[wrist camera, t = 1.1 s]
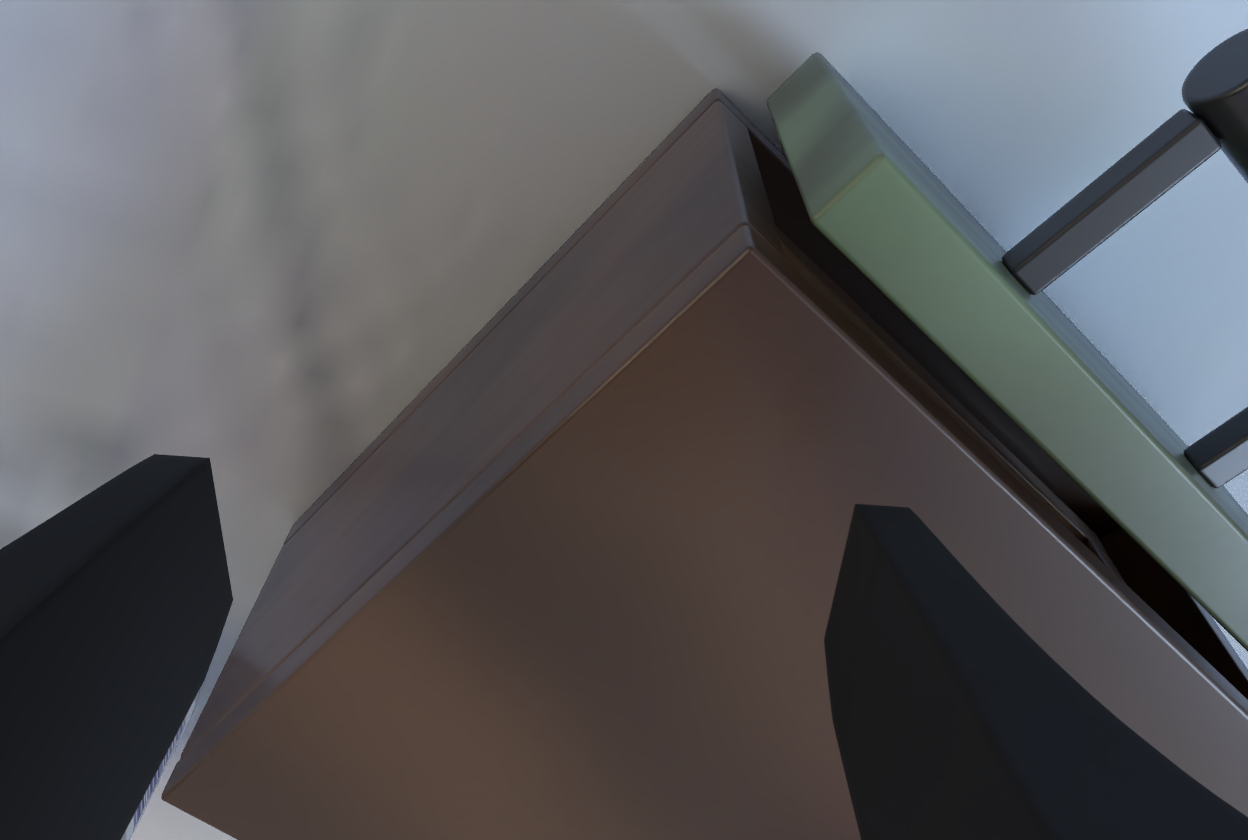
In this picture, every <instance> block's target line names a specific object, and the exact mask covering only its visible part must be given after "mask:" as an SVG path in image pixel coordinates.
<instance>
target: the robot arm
mask: <svg viewBox="0 0 1248 840" xmlns="http://www.w3.org/2000/svg"><path fill="white" fill-rule="evenodd" d="M232 601H233V597H232V591H231V585H230V579H229V573H228V567H227V561H226V555H225V549H224V543H223V536H222V530H221V524H220V518H219V512H218V506H217V500H216V494H215V488H214V482H213V476H212V470H211V464H210V458H200V457H185V456H171V455H157V454H154V455H153V456H151V457H149V458H147V459H145V460H143V461H142V462H140V463H138V464H136V465H135V466H133V467H131V468H129V469H128V470H126V471H125V472H123V473H121V474H120V475H118V476H116V477H115V478H113V479H112V480H110V481H108V482H107V483H105V484H104V485H102V486H100V487H99V488H97V489H96V490H94V491H93V492H91V493H89V494H88V495H86V496H85V497H83V498H82V499H80V500H78V501H77V502H75V503H74V504H72V505H71V506H69V507H68V508H66V509H64V510H63V511H61V512H60V513H58V514H56V515H55V516H53V517H52V518H50V519H48V520H47V521H45V522H44V523H42V524H40V525H39V526H37V527H36V528H34V529H32V530H31V531H29V532H28V533H26V534H25V535H23V536H21V537H20V538H18V539H17V540H15V541H13V542H12V543H10V544H9V545H7V546H5V547H4V548H2V549H1V550H0V840H121V839H122V837H123V835H124V833H125V831H126V829H127V827H128V825H129V823H130V822H131V820H132V818H133V816H134V814H135V812H136V810H137V808H138V806H139V804H140V803H141V801H142V799H143V797H144V795H145V793H146V791H147V789H148V787H149V785H150V784H151V782H152V780H153V778H154V776H155V774H156V772H157V770H158V768H159V767H160V765H161V763H162V761H163V759H164V757H165V755H166V753H167V751H168V749H169V748H170V746H171V744H172V742H173V740H174V738H175V736H176V734H177V732H178V730H179V728H180V726H181V724H182V723H183V721H184V719H185V717H186V715H187V713H188V711H189V709H190V707H191V705H192V703H193V701H194V699H195V697H196V695H197V693H198V691H199V689H200V687H201V685H202V683H203V681H204V679H205V677H206V674H207V671H208V669H209V666H210V664H211V661H212V658H213V656H214V653H215V650H216V648H217V645H218V642H219V639H220V636H221V633H222V630H223V627H224V625H225V622H226V619H227V616H228V613H229V610H230V607H231V604H232ZM824 647H825V657H826V667H827V677H828V687H829V695H830V704H831V712H832V720H833V725H834V729H835V734H836V738H837V742H838V747H839V751H840V755H841V759H842V763H843V768H844V772H845V776H846V780H847V784H848V788H849V793H850V797H851V801H852V805H853V809H854V813H855V817H856V821H857V825H858V829H859V833H860V837H861V840H1248V817H1247V816H1245V815H1244V814H1242V813H1241V812H1240V811H1238V810H1237V809H1235V808H1234V807H1232V806H1231V805H1230V804H1228V803H1227V802H1225V801H1224V800H1222V799H1221V798H1220V797H1218V796H1217V795H1215V794H1214V793H1213V792H1211V791H1210V790H1209V789H1207V788H1206V787H1204V786H1203V785H1202V784H1200V783H1199V782H1198V781H1196V780H1195V779H1194V778H1192V777H1191V776H1190V775H1188V774H1187V773H1186V772H1184V771H1183V770H1182V769H1180V768H1179V767H1178V766H1177V765H1175V764H1174V763H1173V762H1172V761H1170V760H1169V759H1168V758H1167V757H1165V756H1164V755H1163V754H1162V753H1160V752H1159V751H1158V750H1157V749H1155V748H1154V747H1153V746H1152V745H1150V744H1149V743H1148V742H1147V741H1145V740H1144V739H1143V738H1142V737H1140V736H1139V735H1138V734H1137V733H1135V732H1134V731H1133V730H1132V729H1130V728H1129V727H1128V726H1127V725H1125V724H1124V723H1123V722H1122V721H1121V720H1120V719H1118V718H1117V717H1116V716H1115V715H1114V714H1113V713H1111V712H1110V711H1109V710H1108V709H1107V708H1106V707H1104V706H1103V705H1102V704H1101V703H1100V702H1099V701H1098V700H1096V699H1095V698H1094V697H1093V696H1092V695H1091V694H1090V693H1089V692H1088V691H1087V690H1086V689H1084V688H1083V687H1082V686H1081V685H1080V684H1079V683H1078V682H1077V681H1076V680H1075V679H1074V678H1073V677H1071V676H1070V675H1069V674H1068V673H1067V672H1066V671H1065V670H1064V669H1063V668H1062V667H1061V666H1060V665H1059V664H1057V663H1056V662H1055V661H1054V660H1053V659H1052V658H1051V657H1050V656H1049V655H1048V654H1047V653H1046V652H1045V651H1044V650H1043V649H1042V648H1041V647H1040V646H1039V645H1038V644H1037V643H1036V642H1035V641H1034V640H1033V639H1032V638H1031V637H1030V636H1029V635H1028V634H1027V633H1026V632H1025V631H1024V630H1023V629H1022V628H1021V627H1020V626H1019V625H1018V624H1017V623H1016V622H1015V621H1014V620H1013V619H1012V618H1011V617H1010V616H1009V615H1008V614H1007V613H1006V612H1005V611H1004V610H1003V609H1002V608H1001V607H1000V606H999V605H998V603H997V602H996V601H995V600H994V599H993V598H992V597H991V596H990V595H989V594H988V593H987V592H986V591H985V590H984V589H983V587H982V586H981V585H980V584H979V583H978V582H977V581H976V580H975V579H974V578H973V577H972V576H971V574H970V573H969V572H968V571H967V570H966V569H965V568H964V567H963V566H962V565H961V563H960V562H959V561H958V560H957V559H956V558H955V557H954V556H953V555H952V554H951V552H950V551H949V550H948V549H947V548H946V547H945V546H944V545H943V544H942V542H941V541H940V540H939V539H938V538H937V537H936V536H935V535H934V534H933V532H932V531H931V530H930V529H929V528H928V527H927V526H926V525H925V524H924V523H923V521H922V520H921V519H920V518H919V517H918V516H917V515H916V514H915V513H914V512H913V511H912V510H911V509H910V508H909V507H895V506H880V505H866V504H855V507H854V511H853V515H852V520H851V524H850V528H849V533H848V537H847V541H846V546H845V550H844V554H843V559H842V563H841V567H840V572H839V576H838V580H837V585H836V589H835V594H834V598H833V602H832V607H831V611H830V615H829V620H828V624H827V628H826V633H825V637H824Z"/></svg>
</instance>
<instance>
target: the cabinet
mask: <svg viewBox="0 0 1248 840" xmlns="http://www.w3.org/2000/svg"><path fill="white" fill-rule="evenodd" d="M776 226H777V227H778V228H779V229H780V230H781V231H782V232H783V233H784V234H785V235H786V236H787V237H788V238H789V239H790V240H791V241H792V242H793V243H794V244H795V245H797V246H798V247H799V248H800V249H801V250H802V251H803V252H804V253H805V254H806V255H807V256H808V257H809V258H810V259H811V260H812V261H813V262H814V263H815V264H816V265H817V266H818V267H819V268H820V269H821V270H822V271H824V272H825V273H826V274H827V275H828V276H829V277H830V278H831V279H832V280H833V281H834V282H835V283H836V284H837V285H838V286H839V287H840V288H841V289H842V290H843V291H844V292H845V293H846V294H847V295H848V296H849V297H851V298H852V299H853V300H854V301H855V302H856V303H857V304H858V305H859V306H860V307H861V308H862V309H863V310H864V311H865V312H866V313H867V314H868V315H869V316H870V317H871V318H872V319H873V320H874V321H875V322H876V323H877V324H879V325H880V326H881V327H882V328H883V329H884V330H885V331H886V332H887V333H888V334H889V335H890V336H891V337H892V338H893V339H894V340H895V341H896V342H897V343H898V344H899V345H900V346H901V347H902V348H903V349H904V350H906V351H907V352H908V353H909V354H910V355H911V356H912V357H913V358H914V359H915V360H916V361H917V362H918V363H919V364H920V365H921V366H922V367H923V368H924V369H925V370H926V371H927V372H928V373H929V374H930V375H931V376H933V377H934V378H935V379H936V380H937V381H938V382H939V383H940V384H941V385H942V386H943V387H944V388H945V389H946V390H947V391H948V392H949V393H950V394H951V395H952V396H953V397H954V398H955V399H956V400H957V401H958V402H960V403H961V404H962V405H963V406H964V407H965V408H966V409H967V410H968V411H969V412H970V413H971V414H972V415H973V416H974V417H975V418H976V419H977V420H978V421H979V422H980V423H981V424H982V425H983V426H984V427H985V428H987V429H988V430H989V431H990V432H991V433H992V434H993V435H994V436H995V437H996V438H997V439H998V440H999V441H1000V442H1001V443H1002V444H1003V445H1004V446H1005V447H1006V448H1007V449H1008V450H1009V451H1010V452H1011V453H1012V454H1013V455H1015V456H1016V457H1017V458H1018V459H1019V460H1020V461H1021V462H1022V463H1023V464H1024V465H1025V466H1026V467H1027V468H1028V469H1029V470H1030V471H1031V472H1032V473H1033V474H1034V475H1035V476H1036V477H1037V478H1038V479H1039V480H1040V481H1042V482H1043V483H1044V484H1045V485H1046V486H1047V487H1048V488H1049V489H1050V490H1051V491H1052V492H1053V493H1054V494H1055V495H1056V496H1057V497H1058V498H1059V499H1060V500H1061V501H1062V502H1063V503H1064V504H1065V505H1066V506H1067V507H1069V508H1070V509H1071V510H1072V511H1073V512H1074V513H1075V514H1076V515H1077V516H1078V517H1079V518H1080V519H1081V520H1082V521H1083V522H1084V523H1085V524H1086V525H1087V526H1088V527H1089V528H1090V529H1091V530H1092V531H1093V532H1094V533H1096V535H1097V536H1098V538H1099V540H1100V541H1101V543H1102V545H1103V546H1104V548H1105V550H1106V551H1107V553H1108V556H1109V557H1110V558H1111V560H1112V562H1113V563H1114V565H1115V567H1116V568H1117V570H1118V572H1119V573H1120V575H1121V577H1122V578H1123V580H1124V582H1125V583H1126V584H1125V583H1124V582H1123V581H1122V580H1121V579H1120V578H1119V577H1118V576H1117V575H1116V574H1115V573H1114V572H1113V571H1112V570H1111V569H1110V568H1109V567H1107V566H1106V565H1105V564H1104V563H1103V562H1102V561H1101V560H1100V559H1099V558H1098V557H1097V556H1096V555H1095V554H1094V553H1093V552H1092V551H1091V550H1090V549H1089V548H1087V547H1086V546H1085V545H1084V544H1083V543H1082V542H1081V541H1080V540H1079V539H1078V538H1077V537H1076V536H1075V535H1074V534H1073V533H1072V532H1071V531H1070V530H1069V529H1067V528H1066V527H1065V526H1064V525H1063V524H1062V523H1061V522H1060V521H1059V520H1058V519H1057V518H1056V517H1055V516H1054V515H1053V514H1052V513H1051V512H1050V511H1049V510H1048V509H1046V508H1045V507H1044V506H1043V505H1042V504H1041V503H1040V502H1039V501H1038V500H1037V499H1036V498H1035V497H1034V496H1033V495H1032V494H1031V493H1030V492H1029V491H1028V490H1026V489H1025V488H1024V487H1023V486H1022V485H1021V484H1020V483H1019V482H1018V481H1017V480H1016V479H1015V478H1014V477H1013V476H1012V475H1011V474H1010V473H1009V472H1008V471H1007V470H1005V469H1004V468H1003V467H1002V466H1001V465H1000V464H999V463H998V462H997V461H996V460H995V459H994V458H993V457H992V456H991V455H990V454H989V453H988V452H987V451H985V450H984V449H983V448H982V447H981V446H980V445H979V444H978V443H977V442H976V441H975V440H974V439H973V438H972V437H971V436H970V435H969V434H968V433H967V432H965V431H964V430H963V429H962V428H961V427H960V426H959V425H958V424H957V423H956V422H955V421H954V420H953V419H952V418H951V417H950V416H949V415H948V414H947V413H946V412H944V411H943V410H942V409H941V408H940V407H939V406H938V405H937V404H936V403H935V402H934V401H933V400H932V399H931V398H930V397H929V396H928V395H927V394H926V393H924V392H923V391H922V390H921V389H920V388H919V387H918V386H917V385H916V384H915V383H914V382H913V381H912V380H911V379H910V378H909V377H908V376H907V375H906V374H904V373H903V372H902V371H901V370H900V369H899V368H898V367H897V366H896V365H895V364H894V363H893V362H892V361H891V360H890V359H889V358H888V357H887V356H886V355H885V354H883V353H882V352H881V351H880V350H879V349H878V348H877V347H876V346H875V345H874V344H873V343H872V342H871V341H870V340H869V339H868V338H867V337H866V336H865V335H863V334H862V333H861V332H860V331H859V330H858V329H857V328H856V327H855V326H854V325H853V324H852V323H851V322H850V321H849V320H848V319H847V318H846V317H845V316H843V315H842V314H841V313H840V312H839V311H838V310H837V309H836V308H835V307H834V306H833V305H832V304H831V303H830V302H829V301H828V300H827V299H826V298H825V297H824V296H822V295H821V294H820V293H819V292H818V291H817V290H816V289H815V288H814V287H813V286H812V285H811V284H810V283H809V282H808V281H807V280H806V279H805V278H804V277H802V276H801V275H800V274H799V273H798V272H797V271H796V270H795V269H794V268H793V267H792V266H791V265H790V264H789V263H788V262H787V261H786V259H785V256H784V253H783V249H782V246H781V242H780V239H779V235H778V232H777V228H776ZM855 504H866V505H880V506H895V507H909V508H910V509H911V510H912V511H913V512H914V513H915V514H916V515H917V516H918V517H919V518H920V519H921V520H922V521H923V523H924V524H925V525H926V526H927V527H928V528H929V529H930V530H931V531H932V532H933V534H934V535H935V536H936V537H937V538H938V539H939V540H940V541H941V542H942V544H943V545H944V546H945V547H946V548H947V549H948V550H949V551H950V552H951V554H952V555H953V556H954V557H955V558H956V559H957V560H958V561H959V562H960V563H961V565H962V566H963V567H964V568H965V569H966V570H967V571H968V572H969V573H970V574H971V576H972V577H973V578H974V579H975V580H976V581H977V582H978V583H979V584H980V585H981V586H982V587H983V589H984V590H985V591H986V592H987V593H988V594H989V595H990V596H991V597H992V598H993V599H994V600H995V601H996V602H997V603H998V605H999V606H1000V607H1001V608H1002V609H1003V610H1004V611H1005V612H1006V613H1007V614H1008V615H1009V616H1010V617H1011V618H1012V619H1013V620H1014V621H1015V622H1016V623H1017V624H1018V625H1019V626H1020V627H1021V628H1022V629H1023V630H1024V631H1025V632H1026V633H1027V634H1028V635H1029V636H1030V637H1031V638H1032V639H1033V640H1034V641H1035V642H1036V643H1037V644H1038V645H1039V646H1040V647H1041V648H1042V649H1043V650H1044V651H1045V652H1046V653H1047V654H1048V655H1049V656H1050V657H1051V658H1052V659H1053V660H1054V661H1055V662H1056V663H1057V664H1059V665H1060V666H1061V667H1062V668H1063V669H1064V670H1065V671H1066V672H1067V673H1068V674H1069V675H1070V676H1071V677H1073V678H1074V679H1075V680H1076V681H1077V682H1078V683H1079V684H1080V685H1081V686H1082V687H1083V688H1084V689H1086V690H1087V691H1088V692H1089V693H1090V694H1091V695H1092V696H1093V697H1094V698H1095V699H1096V700H1098V701H1099V702H1100V703H1101V704H1102V705H1103V706H1104V707H1106V708H1107V709H1108V710H1109V711H1110V712H1111V713H1113V714H1114V715H1115V716H1116V717H1117V718H1118V719H1120V720H1121V721H1122V722H1123V723H1124V724H1125V725H1127V726H1128V727H1129V728H1130V729H1132V730H1133V731H1134V732H1135V733H1137V734H1138V735H1139V736H1140V737H1142V738H1143V739H1144V740H1145V741H1147V742H1148V743H1149V744H1150V745H1152V746H1153V747H1154V748H1155V749H1157V750H1158V751H1159V752H1160V753H1162V754H1163V755H1164V756H1165V757H1167V758H1168V759H1169V760H1170V761H1172V762H1173V763H1174V764H1175V765H1177V766H1178V767H1179V768H1180V769H1182V770H1183V771H1184V772H1186V773H1187V774H1188V775H1190V776H1191V777H1192V778H1194V779H1195V780H1196V781H1198V782H1199V783H1200V784H1202V785H1203V786H1204V787H1206V788H1207V789H1209V790H1210V791H1211V792H1213V793H1214V794H1215V795H1217V796H1218V797H1220V798H1221V799H1222V800H1224V801H1225V802H1227V803H1228V804H1230V805H1231V806H1232V807H1234V808H1235V809H1237V810H1238V811H1240V812H1241V813H1242V814H1244V815H1245V816H1247V817H1248V669H1247V668H1246V666H1245V665H1244V663H1243V662H1242V660H1241V659H1240V657H1239V656H1238V654H1237V653H1236V652H1235V650H1234V649H1233V647H1232V646H1231V644H1230V643H1229V641H1228V640H1227V638H1226V637H1225V635H1224V634H1223V633H1222V631H1221V630H1220V628H1219V627H1218V625H1217V624H1216V622H1215V621H1214V619H1213V618H1212V616H1211V615H1210V614H1209V613H1208V612H1207V611H1206V610H1205V609H1204V608H1203V607H1202V606H1201V605H1200V604H1199V603H1198V602H1197V601H1196V600H1195V599H1194V598H1193V597H1192V596H1191V595H1190V594H1189V593H1188V592H1187V591H1186V590H1185V589H1184V588H1183V587H1182V586H1181V585H1180V584H1179V583H1178V582H1176V581H1175V580H1174V579H1173V578H1172V577H1171V576H1170V575H1169V574H1168V573H1167V572H1166V571H1165V570H1164V569H1163V568H1162V567H1161V566H1160V565H1159V564H1158V563H1157V562H1156V561H1155V560H1154V559H1153V558H1152V557H1151V556H1150V555H1149V554H1148V553H1147V552H1146V551H1145V550H1144V549H1143V548H1142V547H1141V546H1140V545H1139V544H1138V543H1137V542H1136V541H1135V540H1134V539H1133V538H1132V537H1131V536H1130V535H1129V534H1128V533H1127V532H1126V531H1125V530H1123V529H1122V528H1121V527H1120V526H1119V525H1118V524H1117V523H1116V522H1115V521H1114V520H1113V519H1112V518H1111V517H1110V516H1109V515H1108V514H1107V513H1106V512H1105V511H1104V510H1103V509H1102V508H1101V507H1100V506H1099V505H1098V504H1097V503H1096V502H1095V501H1094V500H1093V499H1092V498H1091V497H1090V496H1089V495H1088V494H1087V493H1086V492H1085V491H1084V490H1083V489H1082V488H1081V487H1080V486H1079V485H1078V484H1077V483H1076V482H1075V481H1074V480H1073V479H1072V478H1071V477H1069V476H1068V475H1067V474H1066V473H1065V472H1064V471H1063V470H1062V469H1061V468H1060V467H1059V466H1058V465H1057V464H1056V463H1055V462H1054V461H1053V460H1052V459H1051V458H1050V457H1049V456H1048V455H1047V454H1046V453H1045V452H1044V451H1043V450H1042V449H1041V448H1040V447H1039V446H1038V445H1037V444H1036V443H1035V442H1034V441H1033V440H1032V439H1031V438H1030V437H1029V436H1028V435H1027V434H1026V433H1025V432H1024V431H1023V430H1022V429H1021V428H1020V427H1019V426H1018V425H1016V424H1015V423H1014V422H1013V421H1012V420H1011V419H1010V418H1009V417H1008V416H1007V415H1006V414H1005V413H1004V412H1003V411H1002V410H1001V409H1000V408H999V407H998V406H997V405H996V404H995V403H994V402H993V401H992V400H991V399H990V398H989V397H988V396H987V395H986V394H985V393H984V392H983V391H982V390H981V389H980V388H979V387H978V386H977V385H976V384H975V383H974V382H973V381H972V380H971V379H970V378H969V377H968V376H967V375H966V374H965V373H964V372H962V371H961V370H960V369H959V368H958V367H957V366H956V365H955V364H954V363H953V362H952V361H951V360H950V359H949V358H948V357H947V356H946V355H945V354H944V353H943V352H942V351H941V350H940V349H939V348H938V347H937V346H936V345H935V344H934V343H933V342H932V341H931V340H930V339H929V338H928V337H927V336H926V335H925V334H924V333H923V332H922V331H921V330H920V329H919V328H918V327H917V326H916V325H915V324H914V323H913V322H912V321H911V320H909V319H908V318H907V317H906V316H905V315H904V314H903V313H902V312H901V311H900V310H899V309H898V308H897V307H896V306H895V305H894V304H893V303H892V302H891V301H890V300H889V299H888V298H887V297H886V296H885V295H884V294H883V293H882V292H881V291H880V290H879V289H878V288H877V287H876V286H875V285H874V284H873V283H872V282H871V281H870V280H869V279H868V278H867V277H866V276H865V275H864V274H863V273H862V272H861V271H860V270H859V269H858V268H857V267H855V266H854V265H853V264H852V263H851V262H850V261H849V260H848V259H847V258H846V257H845V256H844V255H843V254H842V253H841V252H840V251H839V250H838V249H837V248H836V247H835V246H834V245H833V244H832V243H831V242H830V241H829V240H828V239H827V238H826V237H825V236H824V235H823V234H822V233H821V232H820V231H819V230H818V229H817V228H816V227H815V226H814V225H813V224H812V223H811V220H810V217H809V215H808V212H807V209H806V207H805V204H804V201H803V199H802V196H801V193H800V191H799V188H798V185H797V183H796V180H795V178H794V175H793V172H792V170H791V167H790V164H789V162H788V159H787V158H786V157H785V156H784V155H783V154H782V153H781V152H780V151H779V150H778V149H777V148H776V147H775V146H774V145H773V144H772V143H771V142H770V141H769V140H768V139H767V138H766V137H765V136H764V135H763V134H762V133H761V132H760V131H759V130H758V129H757V128H756V127H755V126H754V125H753V124H752V123H751V122H750V121H749V120H748V119H747V118H746V117H745V116H744V115H743V114H742V113H741V112H740V111H739V110H738V109H737V108H736V107H735V106H734V105H733V104H732V103H731V102H730V101H729V100H728V99H727V98H726V97H725V96H724V95H723V94H722V93H721V92H720V91H719V90H717V89H714V90H712V91H711V92H710V93H709V94H708V95H707V96H706V97H705V98H704V99H703V100H702V101H701V102H700V104H699V105H698V106H697V107H696V108H695V109H694V110H693V111H692V112H691V113H690V114H689V115H688V116H687V117H686V118H685V119H684V120H683V121H682V122H681V123H680V124H679V125H678V126H677V127H676V128H675V129H674V130H673V132H672V133H671V134H670V135H669V136H668V137H667V138H666V139H665V140H664V141H663V142H662V143H661V144H660V145H659V146H658V147H657V148H656V149H655V150H654V151H653V152H652V153H651V154H650V155H649V156H648V157H647V158H646V160H645V161H644V162H643V163H642V164H641V165H640V166H639V167H638V168H637V169H636V170H635V171H634V172H633V173H632V174H631V175H630V176H629V177H628V178H627V179H626V180H625V181H624V182H623V183H622V184H621V185H620V186H619V188H618V189H617V190H616V191H615V192H614V193H613V194H612V195H611V196H610V197H609V198H608V199H607V200H606V201H605V202H604V203H603V204H602V205H601V206H600V207H599V208H598V209H597V210H596V211H595V212H594V213H593V214H592V216H591V217H590V218H589V219H588V220H587V221H586V222H585V223H584V224H583V225H582V226H581V227H580V228H579V229H578V230H577V231H576V232H575V233H574V234H573V235H572V236H571V237H570V238H569V239H568V240H567V241H566V242H565V244H564V245H563V246H562V247H561V248H560V249H559V250H558V251H557V252H556V253H555V254H554V255H553V256H552V257H551V258H550V259H549V260H548V261H547V262H546V263H545V264H544V265H543V266H542V267H541V268H540V269H539V270H538V272H537V273H536V274H535V275H534V276H533V277H532V278H531V279H530V280H529V281H528V282H527V283H526V284H525V285H524V286H523V287H522V288H521V289H520V290H519V291H518V292H517V293H516V294H515V295H514V296H513V297H512V298H511V300H510V301H509V302H508V303H507V304H506V305H505V306H504V307H503V308H502V309H501V310H500V311H499V312H498V313H497V314H496V315H495V316H494V317H493V318H492V319H491V320H490V321H489V322H488V323H487V324H486V325H485V326H484V327H483V329H482V330H481V331H480V332H479V333H478V334H477V335H476V336H475V337H474V338H473V339H472V340H471V341H470V342H469V343H468V344H467V345H466V346H465V347H464V348H463V349H462V350H461V351H460V352H459V353H458V354H457V355H456V357H455V358H454V359H453V360H452V361H451V362H450V363H449V364H448V365H447V366H446V367H445V368H444V369H443V370H442V371H441V372H440V373H439V374H438V375H437V376H436V377H435V378H434V379H433V380H432V381H431V382H430V383H429V385H428V386H427V387H426V388H425V389H424V390H423V391H422V392H421V393H420V394H419V395H418V396H417V397H416V398H415V399H414V400H413V401H412V402H411V403H410V404H409V405H408V406H407V407H406V408H405V409H404V410H403V411H402V413H401V414H400V415H399V416H398V417H397V418H396V419H395V420H394V421H393V422H392V423H391V424H390V425H389V426H388V427H387V428H386V429H385V430H384V431H383V432H382V433H381V434H380V435H379V436H378V437H377V438H376V439H375V441H374V442H373V443H372V444H371V445H370V446H369V447H368V448H367V449H366V450H365V451H364V452H363V453H362V454H361V455H360V456H359V457H358V458H357V459H356V460H355V461H354V462H353V463H352V464H351V465H350V466H349V467H348V469H347V470H346V471H345V472H344V473H343V474H342V475H341V476H340V477H339V478H338V479H337V480H336V481H335V482H334V483H333V484H332V485H331V486H330V487H329V488H328V489H327V490H326V491H325V492H324V493H323V494H322V495H321V497H320V498H319V499H318V500H317V501H316V502H315V503H314V504H313V505H312V506H311V507H310V508H309V509H308V510H307V511H306V512H305V513H304V514H303V515H302V516H301V517H300V518H299V519H298V520H297V521H296V522H295V523H294V525H293V526H292V528H291V530H290V532H289V534H288V536H287V538H286V540H285V542H284V546H283V547H282V549H281V551H280V553H279V555H278V557H277V559H276V561H275V563H274V565H273V567H272V569H271V572H270V574H269V576H268V578H267V580H266V582H265V584H264V586H263V588H262V590H261V592H260V594H259V596H258V598H257V600H256V602H255V604H254V606H253V608H252V611H251V613H250V615H249V617H248V619H247V621H246V623H245V625H244V627H243V629H242V631H241V633H240V635H239V637H238V639H237V641H236V643H235V645H234V648H233V650H232V652H231V654H230V656H229V658H228V660H227V662H226V664H225V666H224V668H223V670H222V672H221V674H220V676H219V678H218V680H217V682H216V684H215V687H214V689H213V691H212V693H211V695H210V697H209V699H208V701H207V703H206V705H205V707H204V709H203V711H202V713H201V715H200V717H199V719H198V721H197V724H196V726H195V728H194V730H193V732H192V734H191V736H190V738H189V740H188V742H187V744H186V746H185V748H184V750H183V752H182V754H181V759H180V761H179V762H178V763H177V764H176V766H175V768H174V770H173V772H172V774H171V776H170V779H169V781H168V783H167V785H166V787H165V789H164V791H163V793H162V797H161V799H162V800H163V801H165V802H167V803H169V804H171V805H173V806H175V807H177V808H179V809H180V810H182V811H184V812H186V813H188V814H190V815H192V816H194V817H196V818H197V819H199V820H201V821H203V822H205V823H207V824H209V825H211V826H213V827H215V828H216V829H218V830H220V831H222V832H224V833H226V834H228V835H230V836H232V837H233V838H235V839H237V840H861V837H860V833H859V829H858V825H857V821H856V817H855V813H854V809H853V805H852V801H851V797H850V793H849V788H848V784H847V780H846V776H845V772H844V768H843V763H842V759H841V755H840V751H839V747H838V742H837V738H836V734H835V729H834V725H833V720H832V712H831V704H830V695H829V687H828V677H827V667H826V657H825V647H824V637H825V633H826V628H827V624H828V620H829V615H830V611H831V607H832V602H833V598H834V594H835V589H836V585H837V580H838V576H839V572H840V567H841V563H842V559H843V554H844V550H845V546H846V541H847V537H848V533H849V528H850V524H851V520H852V515H853V511H854V507H855Z"/></svg>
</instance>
